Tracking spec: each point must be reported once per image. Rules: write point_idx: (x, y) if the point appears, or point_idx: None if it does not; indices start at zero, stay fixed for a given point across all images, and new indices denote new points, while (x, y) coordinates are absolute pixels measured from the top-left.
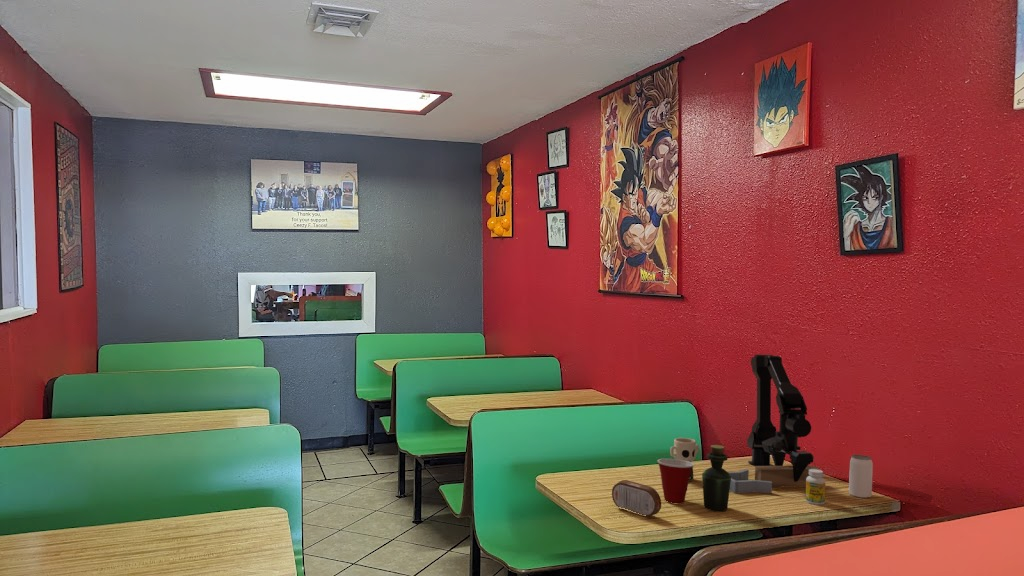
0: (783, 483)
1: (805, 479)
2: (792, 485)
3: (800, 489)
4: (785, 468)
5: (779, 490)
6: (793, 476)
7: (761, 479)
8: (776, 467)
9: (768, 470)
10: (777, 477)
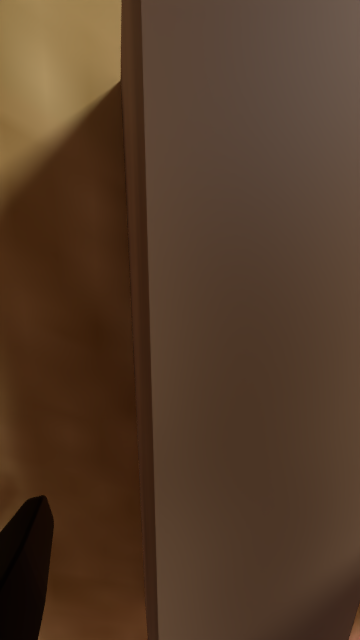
0: (136, 378)
1: (147, 596)
2: (138, 447)
3: (62, 477)
4: (209, 573)
5: (5, 269)
6: (15, 553)
7: (121, 17)
8: (305, 430)
9: (136, 93)
10: (138, 332)
